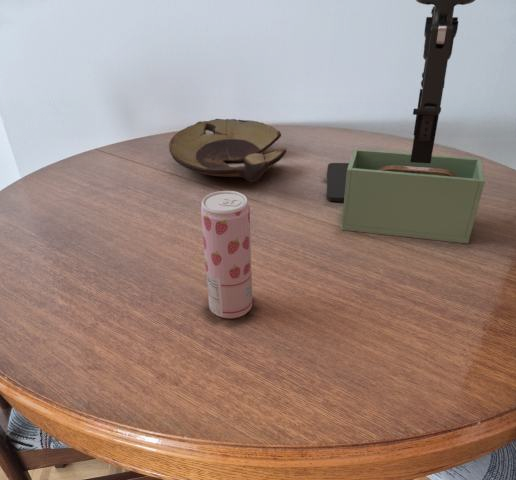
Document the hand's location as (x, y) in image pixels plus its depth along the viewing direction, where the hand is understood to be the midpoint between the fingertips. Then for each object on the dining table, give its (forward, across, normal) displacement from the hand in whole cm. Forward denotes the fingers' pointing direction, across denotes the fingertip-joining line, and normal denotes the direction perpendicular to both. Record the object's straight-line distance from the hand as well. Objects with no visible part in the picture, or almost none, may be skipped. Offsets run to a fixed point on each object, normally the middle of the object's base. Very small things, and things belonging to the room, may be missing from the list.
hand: (421, 147), depth 80 cm
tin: (+12, 0, 0) cm, 12 cm away
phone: (+12, -13, -12) cm, 21 cm away
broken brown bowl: (+12, -14, -35) cm, 39 cm away
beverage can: (+12, +28, -22) cm, 38 cm away
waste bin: (+12, 0, -1) cm, 12 cm away
